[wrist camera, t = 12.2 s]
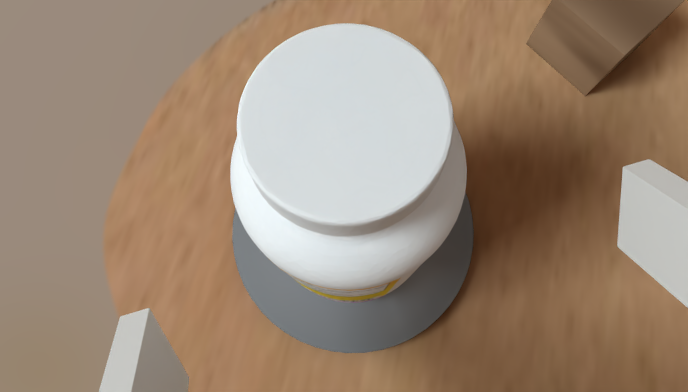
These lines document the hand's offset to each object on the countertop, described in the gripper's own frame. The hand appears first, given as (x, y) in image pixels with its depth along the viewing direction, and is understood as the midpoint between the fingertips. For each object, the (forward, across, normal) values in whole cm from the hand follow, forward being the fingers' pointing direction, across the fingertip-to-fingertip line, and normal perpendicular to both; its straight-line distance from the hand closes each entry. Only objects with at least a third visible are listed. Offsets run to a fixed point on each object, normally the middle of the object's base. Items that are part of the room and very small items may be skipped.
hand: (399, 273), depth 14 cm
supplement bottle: (+9, 0, +4) cm, 10 cm away
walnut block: (+13, -14, 0) cm, 19 cm away
